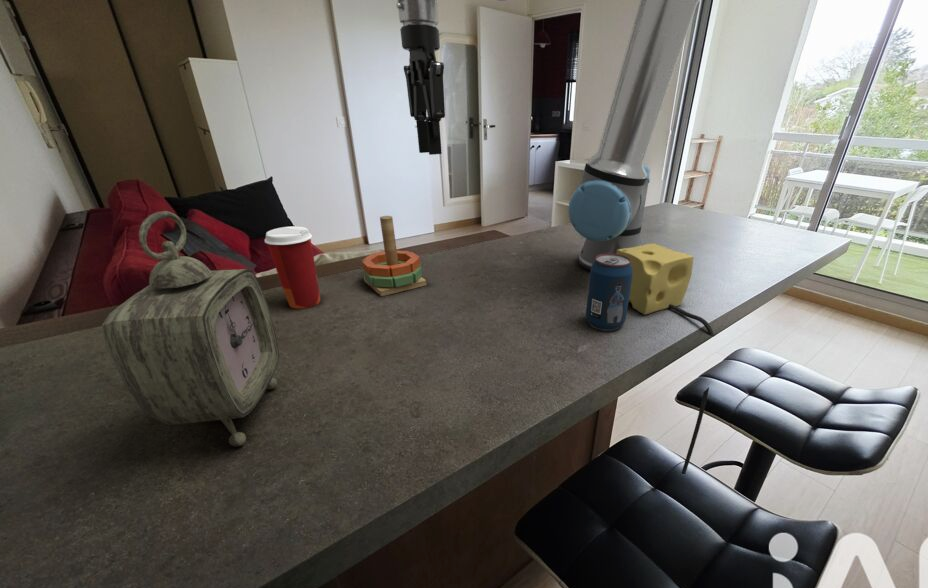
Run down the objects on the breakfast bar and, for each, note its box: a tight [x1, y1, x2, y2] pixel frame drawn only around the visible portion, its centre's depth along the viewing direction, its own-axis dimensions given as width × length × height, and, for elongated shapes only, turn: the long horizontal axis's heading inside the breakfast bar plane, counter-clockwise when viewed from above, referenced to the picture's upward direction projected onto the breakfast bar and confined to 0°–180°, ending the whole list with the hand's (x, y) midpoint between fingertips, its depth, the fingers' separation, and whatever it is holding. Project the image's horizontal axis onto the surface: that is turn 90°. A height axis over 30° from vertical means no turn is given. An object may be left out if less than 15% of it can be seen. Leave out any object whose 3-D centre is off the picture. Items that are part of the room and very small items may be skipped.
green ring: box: [363, 261, 423, 287], centre depth 88 cm, size 11×11×2 cm
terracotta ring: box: [361, 250, 421, 277], centre depth 88 cm, size 11×11×2 cm
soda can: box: [585, 253, 633, 332], centre depth 71 cm, size 7×7×12 cm
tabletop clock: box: [101, 210, 280, 448], centre depth 45 cm, size 14×9×25 cm, turn 9°
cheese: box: [616, 242, 694, 316], centre depth 80 cm, size 10×11×10 cm
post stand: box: [363, 215, 427, 297], centre depth 86 cm, size 10×10×14 cm
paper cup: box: [264, 225, 321, 310], centre depth 77 cm, size 8×8×14 cm
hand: (430, 153), depth 93 cm, fingers open, 4 cm apart
